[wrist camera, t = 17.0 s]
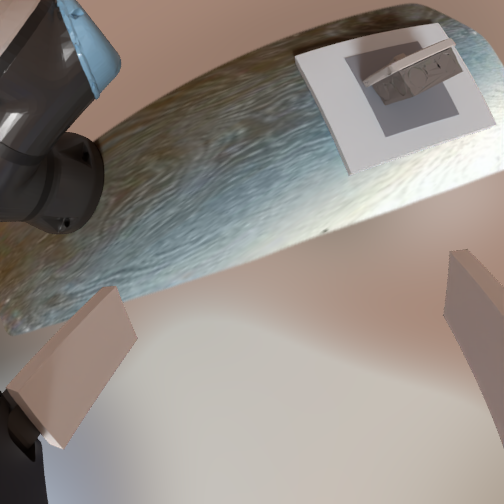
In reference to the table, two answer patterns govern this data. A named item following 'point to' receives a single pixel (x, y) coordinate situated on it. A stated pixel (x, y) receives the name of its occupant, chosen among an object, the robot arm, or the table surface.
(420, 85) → the electrical switch
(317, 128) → the table surface
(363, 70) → the mounting board
